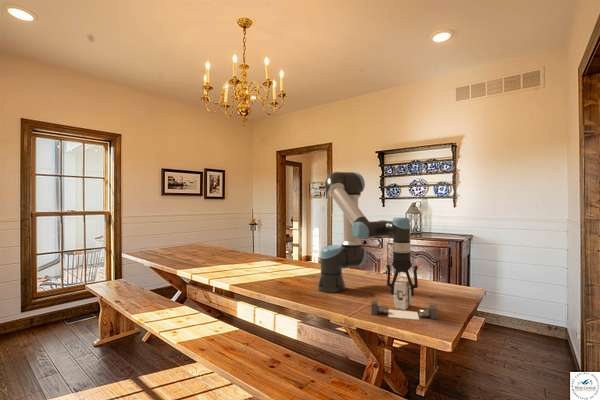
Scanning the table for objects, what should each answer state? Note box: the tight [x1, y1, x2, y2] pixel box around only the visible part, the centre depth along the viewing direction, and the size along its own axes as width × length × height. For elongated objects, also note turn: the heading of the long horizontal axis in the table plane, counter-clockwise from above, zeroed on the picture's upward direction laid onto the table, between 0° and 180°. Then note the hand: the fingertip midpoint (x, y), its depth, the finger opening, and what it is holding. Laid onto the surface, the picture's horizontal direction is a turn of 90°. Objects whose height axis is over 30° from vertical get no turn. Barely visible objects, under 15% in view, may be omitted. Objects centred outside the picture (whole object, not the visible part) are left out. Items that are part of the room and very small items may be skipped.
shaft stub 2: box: [418, 304, 438, 321], centre depth 131 cm, size 6×5×4 cm
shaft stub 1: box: [370, 299, 388, 316], centre depth 136 cm, size 6×5×4 cm
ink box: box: [394, 278, 411, 311], centre depth 144 cm, size 9×5×12 cm, turn 148°
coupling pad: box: [388, 309, 420, 321], centre depth 134 cm, size 12×9×1 cm
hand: (402, 302), depth 144 cm, fingers closed on ink box, 6 cm apart
